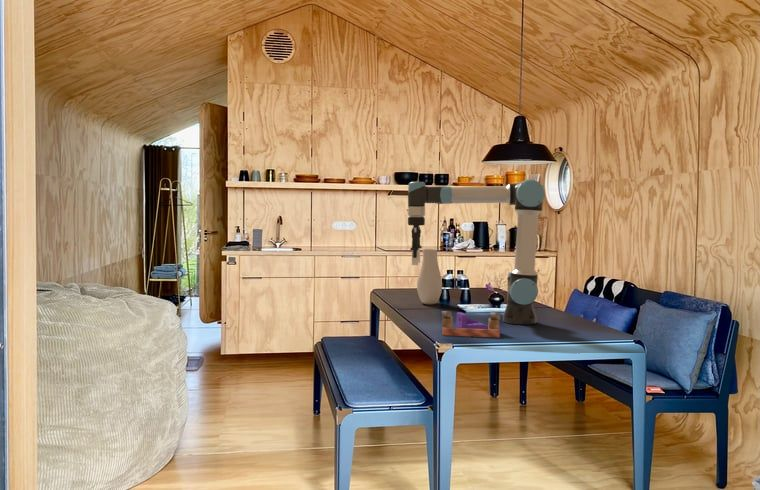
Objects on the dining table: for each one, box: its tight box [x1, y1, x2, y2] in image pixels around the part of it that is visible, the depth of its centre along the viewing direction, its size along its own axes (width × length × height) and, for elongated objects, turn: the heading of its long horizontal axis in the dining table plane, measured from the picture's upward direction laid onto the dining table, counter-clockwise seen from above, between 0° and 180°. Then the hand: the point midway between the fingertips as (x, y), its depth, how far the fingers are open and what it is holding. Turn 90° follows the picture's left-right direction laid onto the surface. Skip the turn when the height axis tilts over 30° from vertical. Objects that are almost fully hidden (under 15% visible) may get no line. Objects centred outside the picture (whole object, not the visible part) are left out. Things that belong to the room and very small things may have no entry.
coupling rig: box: [441, 310, 501, 339], centre depth 253 cm, size 24×10×9 cm, turn 83°
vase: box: [416, 248, 443, 305], centre depth 334 cm, size 14×14×30 cm
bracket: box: [455, 311, 488, 329], centre depth 265 cm, size 12×7×7 cm, turn 102°
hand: (416, 263), depth 275 cm, fingers open, 13 cm apart
